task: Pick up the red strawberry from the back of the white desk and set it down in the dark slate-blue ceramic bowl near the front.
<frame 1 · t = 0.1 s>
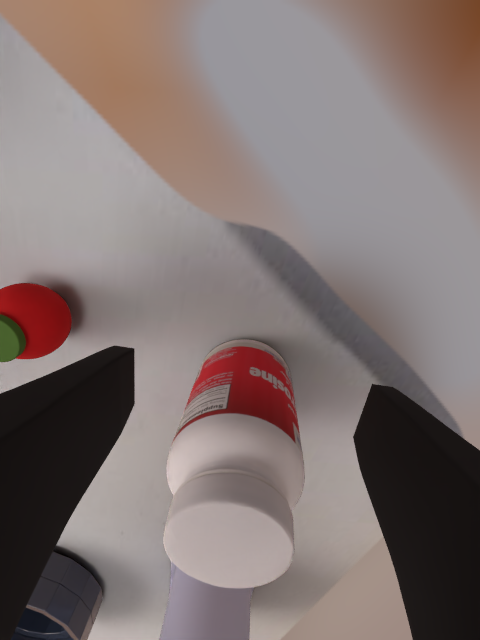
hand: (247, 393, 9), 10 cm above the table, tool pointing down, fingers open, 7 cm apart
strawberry: (52, 308, 20), on the table
pill bottle: (244, 374, 21), on the table
bowl: (46, 579, 32), on the table
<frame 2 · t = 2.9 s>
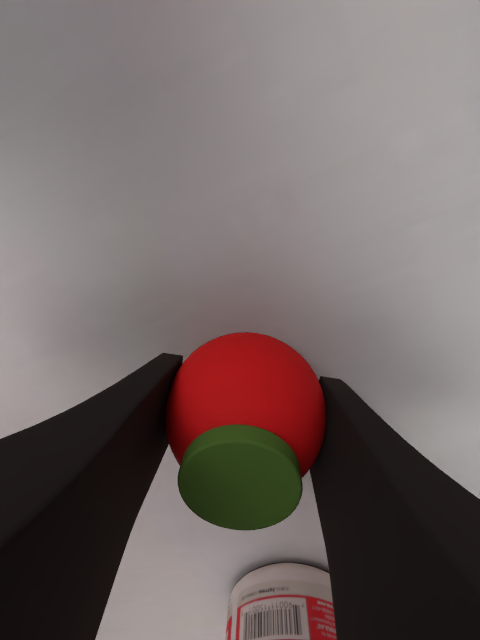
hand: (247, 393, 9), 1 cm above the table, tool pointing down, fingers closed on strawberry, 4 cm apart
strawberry: (248, 369, 11), on the table, touching gripper
pill bottle: (289, 590, 16), on the table
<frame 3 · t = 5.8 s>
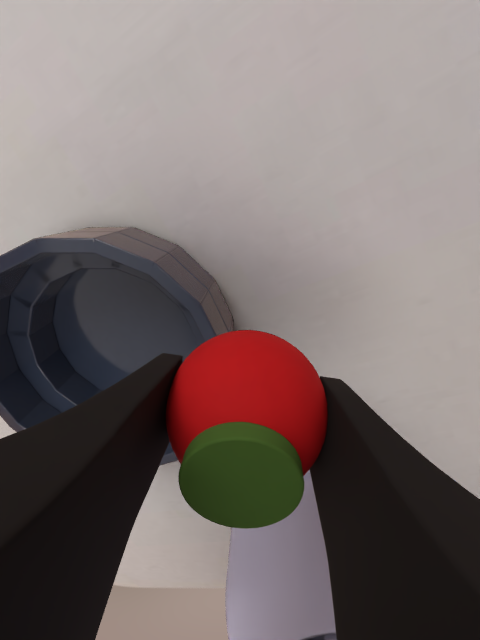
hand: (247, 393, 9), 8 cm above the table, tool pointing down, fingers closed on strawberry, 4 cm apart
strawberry: (249, 367, 11), point 7 cm above the table, touching gripper
bowl: (132, 332, 18), on the table
when the fingers open (2 cm above the table, at t = 8.7 s): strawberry stays where it is, resting on bowl.
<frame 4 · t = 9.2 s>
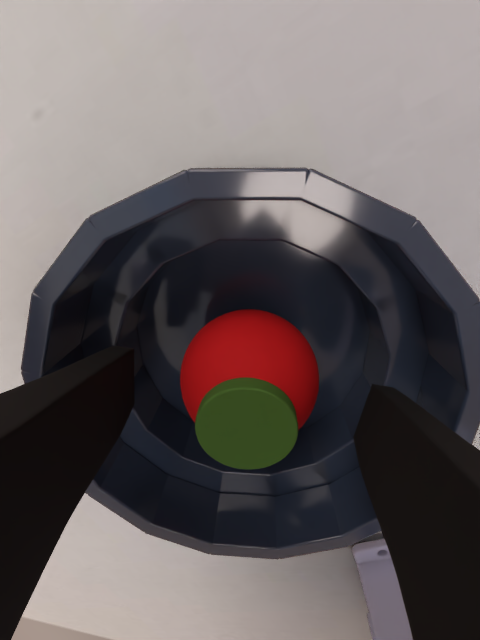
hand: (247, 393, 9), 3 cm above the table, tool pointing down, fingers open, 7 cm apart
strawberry: (250, 346, 12), resting on bowl
bowl: (251, 342, 13), on the table
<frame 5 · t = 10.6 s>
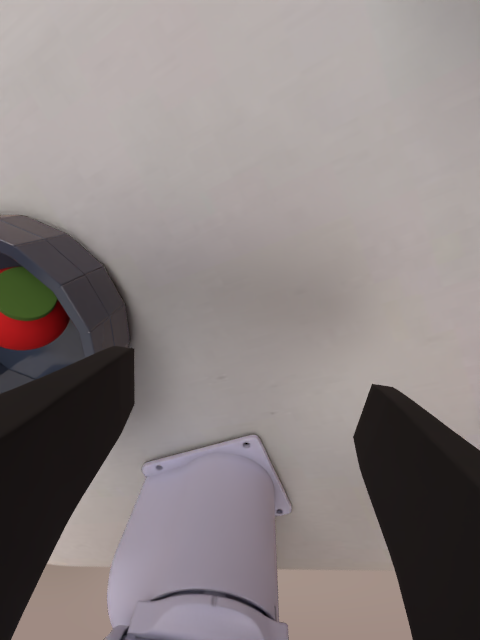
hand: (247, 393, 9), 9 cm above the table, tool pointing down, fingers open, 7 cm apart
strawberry: (22, 320, 18), point 1 cm above the table, tilted 56°, touching bowl
bowl: (36, 315, 20), on the table
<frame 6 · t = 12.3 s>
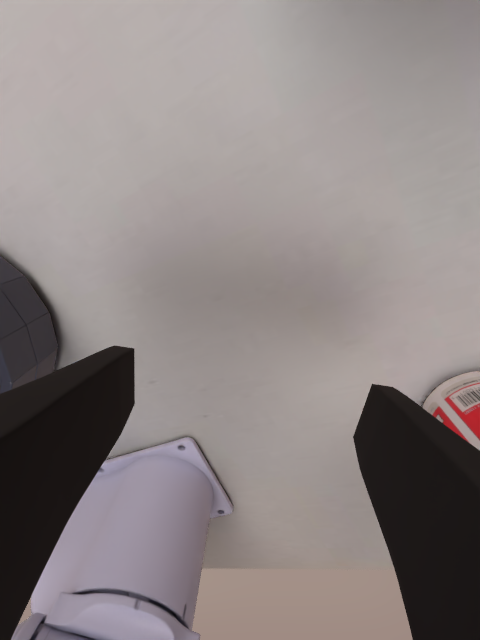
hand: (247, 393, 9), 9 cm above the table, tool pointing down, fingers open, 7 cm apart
pill bottle: (465, 406, 20), on the table
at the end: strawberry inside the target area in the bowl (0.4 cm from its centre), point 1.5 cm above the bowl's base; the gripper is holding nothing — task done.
